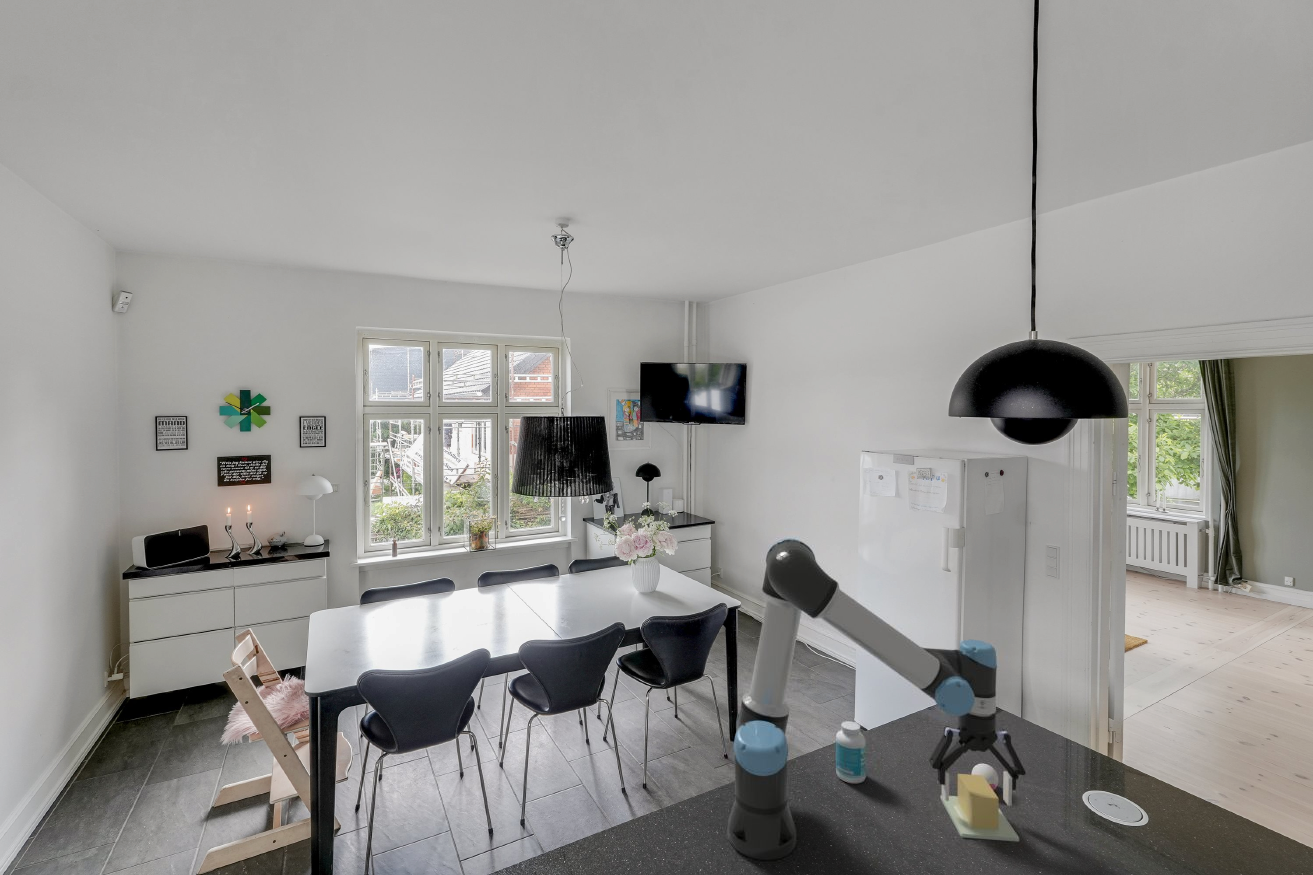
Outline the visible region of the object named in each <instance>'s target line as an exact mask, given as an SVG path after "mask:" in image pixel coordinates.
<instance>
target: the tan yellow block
mask: <svg viewBox="0 0 1313 875" xmlns="http://www.w3.org/2000/svg"><path fill="white" fill-rule="evenodd" d="M957 796H958V804H959V806H960V807H961V809H962V811H963V812H964V814H965V816H966V818H967V819H968V821H969V823H970V824H971V826H972V827H973V828H987V829H999V809H1000V808H999V803H1000V802H999V801H1000V799H999V796H997V793H995V790H992V788H991V787H990V785H989V784H988V783H987V781H986V780H985V778H984V777H983V775H971V774H966V773H964V774H963V773H957Z"/></svg>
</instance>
